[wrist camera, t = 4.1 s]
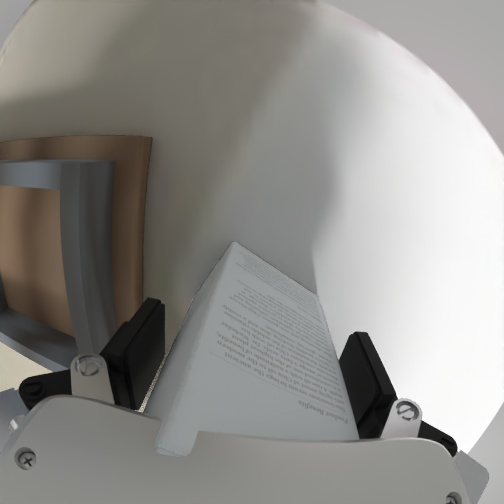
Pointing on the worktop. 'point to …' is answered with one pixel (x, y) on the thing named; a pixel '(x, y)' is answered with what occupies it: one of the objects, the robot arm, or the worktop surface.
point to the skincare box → (251, 362)
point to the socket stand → (70, 242)
